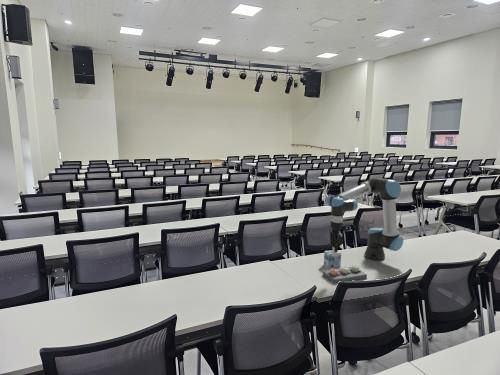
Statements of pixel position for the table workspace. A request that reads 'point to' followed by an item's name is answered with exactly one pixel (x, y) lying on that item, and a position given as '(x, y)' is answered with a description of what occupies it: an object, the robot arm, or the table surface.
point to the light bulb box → (332, 259)
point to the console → (345, 276)
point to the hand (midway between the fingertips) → (334, 256)
